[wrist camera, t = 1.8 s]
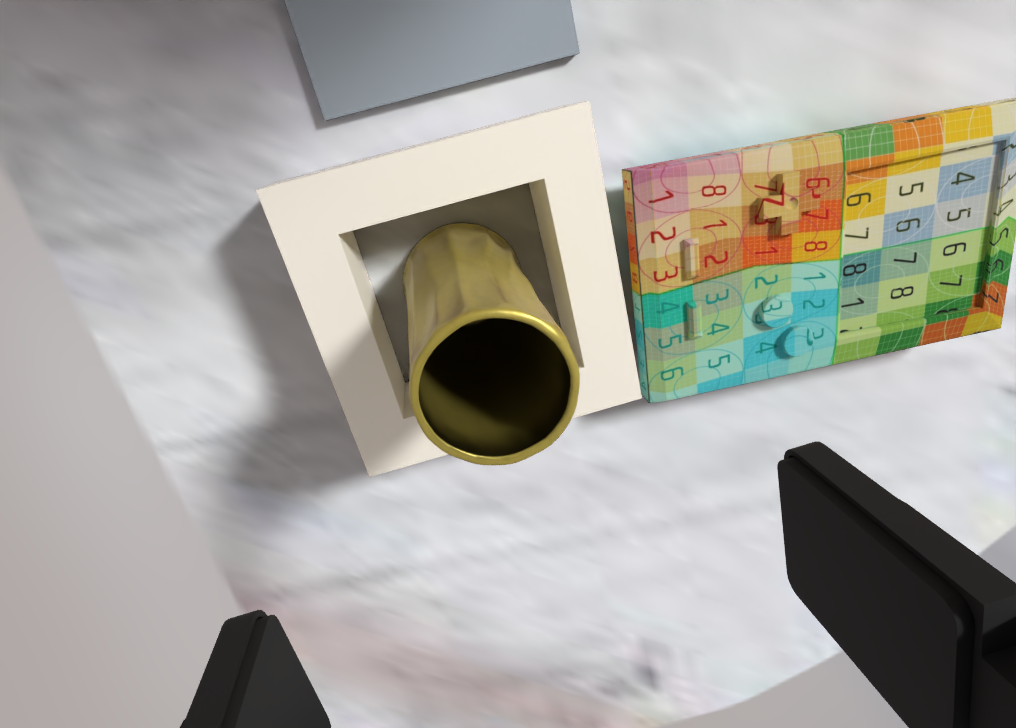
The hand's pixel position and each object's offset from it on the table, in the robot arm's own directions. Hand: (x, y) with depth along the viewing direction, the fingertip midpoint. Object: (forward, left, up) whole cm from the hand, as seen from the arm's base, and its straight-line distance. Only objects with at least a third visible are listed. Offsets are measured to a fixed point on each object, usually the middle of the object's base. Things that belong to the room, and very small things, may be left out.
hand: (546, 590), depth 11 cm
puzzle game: (+3, +18, -23) cm, 29 cm away
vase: (0, 0, -23) cm, 23 cm away
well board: (0, 0, -22) cm, 22 cm away
